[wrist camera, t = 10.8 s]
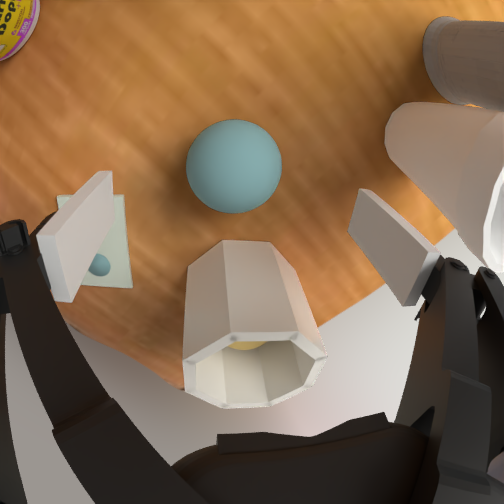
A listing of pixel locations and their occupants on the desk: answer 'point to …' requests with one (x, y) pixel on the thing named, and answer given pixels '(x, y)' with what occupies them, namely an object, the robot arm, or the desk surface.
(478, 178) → the foam cup
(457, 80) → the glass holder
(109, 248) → the card
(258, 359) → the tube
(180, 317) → the desk surface
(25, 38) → the supplement bottle
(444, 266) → the robot arm
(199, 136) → the ball teal
